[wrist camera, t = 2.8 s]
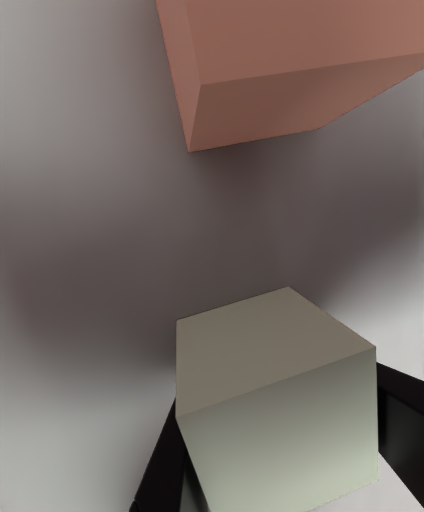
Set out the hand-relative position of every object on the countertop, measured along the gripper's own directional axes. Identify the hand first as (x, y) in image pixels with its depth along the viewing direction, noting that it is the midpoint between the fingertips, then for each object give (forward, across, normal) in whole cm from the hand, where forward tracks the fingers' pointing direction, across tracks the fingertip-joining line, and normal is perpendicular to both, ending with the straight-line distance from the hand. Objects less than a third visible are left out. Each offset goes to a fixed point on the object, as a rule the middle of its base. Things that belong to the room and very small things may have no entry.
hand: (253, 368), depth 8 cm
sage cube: (+1, 0, 0) cm, 1 cm away
